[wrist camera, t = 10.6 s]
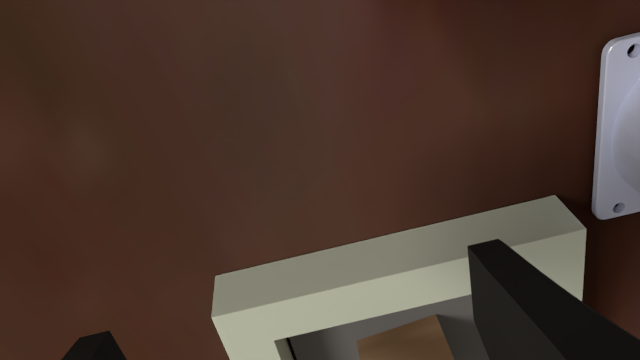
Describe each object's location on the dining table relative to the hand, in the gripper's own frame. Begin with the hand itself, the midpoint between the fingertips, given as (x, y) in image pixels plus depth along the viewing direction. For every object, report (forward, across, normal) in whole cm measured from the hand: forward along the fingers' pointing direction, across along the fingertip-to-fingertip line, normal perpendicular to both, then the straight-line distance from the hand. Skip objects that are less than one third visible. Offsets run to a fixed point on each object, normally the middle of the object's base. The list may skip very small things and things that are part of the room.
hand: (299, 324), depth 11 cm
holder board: (+10, -3, +14) cm, 18 cm away
